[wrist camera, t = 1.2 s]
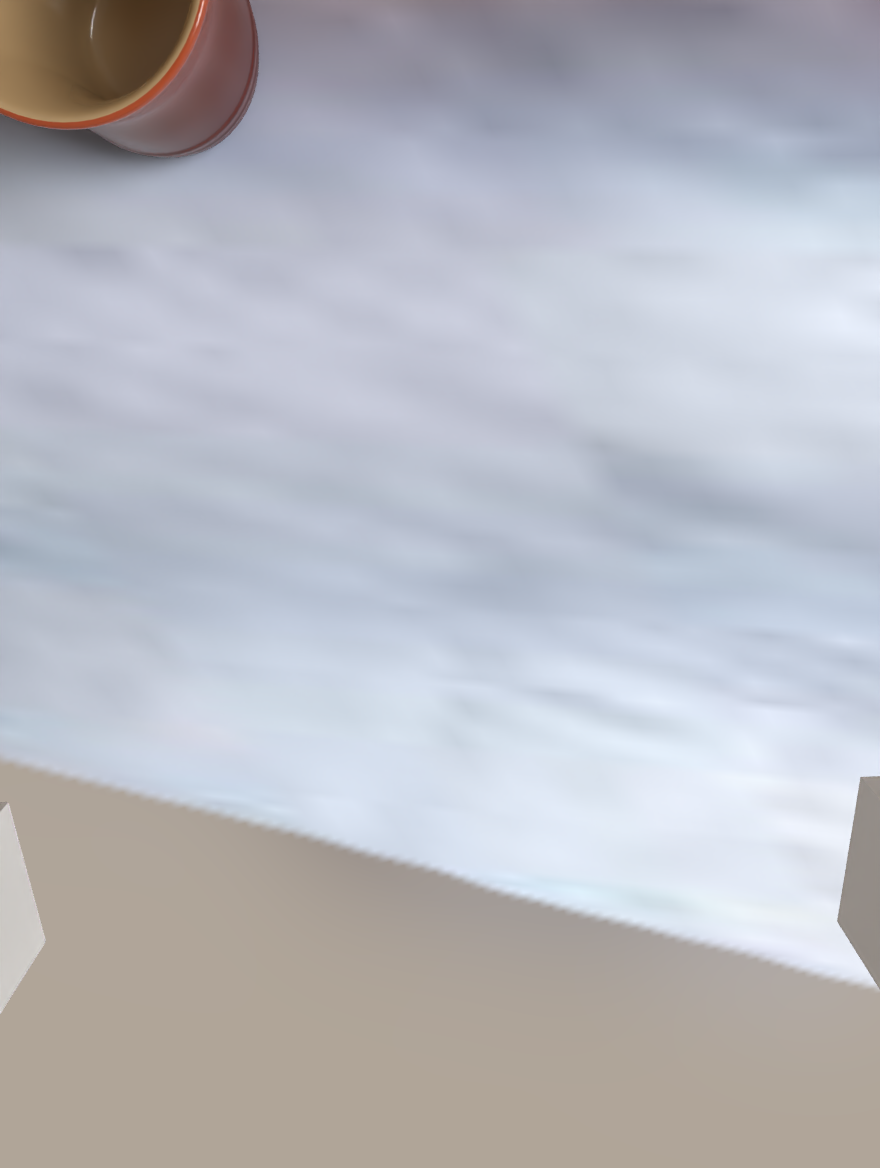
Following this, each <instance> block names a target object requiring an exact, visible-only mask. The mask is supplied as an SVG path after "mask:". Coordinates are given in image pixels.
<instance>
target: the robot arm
mask: <svg viewBox="0 0 880 1168" xmlns="http://www.w3.org/2000/svg"><path fill="white" fill-rule="evenodd" d="M837 922H838V923H839V925H840V927H841V928H842V930H843V931H844V933H845V935H846V936H847V938H848V939H849V941H850V943H851V944H852V946H853V947H854V949H855V951H856V952H857V954H858V955H859V957H860V959H861V960H862V962H863V963H864V965H865V967H866V968H867V970H868V971H869V973H870V975H871V976H872V978H873V979H874V981H875V983H876V984H877V986H878V987H879V989H880V776H877V777H861V778H860V784H859V790H858V796H857V802H856V809H855V815H854V821H853V827H852V833H851V839H850V846H849V852H848V858H847V864H846V870H845V877H844V883H843V889H842V895H841V901H840V908H839V914H838V920H837ZM45 942H46V940H45V936H44V933H43V929H42V925H41V921H40V918H39V914H38V910H37V907H36V903H35V899H34V895H33V892H32V888H31V885H30V880H29V877H28V873H27V870H26V866H25V862H24V858H23V854H22V851H21V847H20V843H19V840H18V836H17V832H16V828H15V825H14V821H13V817H12V813H11V810H10V806H9V803H8V802H1V803H0V1013H1V1012H2V1010H3V1009H4V1007H5V1005H6V1004H7V1002H8V1001H9V999H10V997H11V996H12V994H13V993H14V991H15V990H16V988H17V986H18V985H19V983H20V982H21V980H22V979H23V977H24V975H25V974H26V972H27V970H28V969H29V967H30V966H31V964H32V962H33V961H34V959H35V958H36V956H37V955H38V953H39V952H40V950H41V948H42V947H43V945H44V944H45Z"/></svg>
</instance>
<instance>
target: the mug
mask: <svg viewBox="0 0 880 1168" xmlns="http://www.w3.org/2000/svg"><path fill="white" fill-rule="evenodd" d="M258 67H259V50H258V36H257V29H256V24H255V19H254V16H253V12H252V9H251V5H250V2H249V0H0V114H2V115H4V116H7V117H9V118H12V119H14V120H17V121H19V122H23V123H26V124H30V125H34V126H38V127H44V128H50V129H61V130H77V129H88V130H90V131H92V132H94V133H96V134H97V135H99V136H100V137H102V138H103V139H105V140H107V141H108V142H110V143H112V144H114V145H116V146H117V147H119V148H122V149H124V150H127V151H130V152H133V153H137V154H140V155H146V156H155V157H165V158H171V157H182V156H188V155H193V154H197V153H200V152H203V151H205V150H208V149H210V148H212V147H214V146H215V145H217V144H218V143H220V142H221V141H223V140H224V139H225V138H226V137H227V136H228V135H230V134H231V133H232V131H233V130H234V129H235V128H236V127H237V126H238V124H239V123H240V122H241V120H242V119H243V117H244V115H245V114H246V112H247V110H248V108H249V105H250V103H251V101H252V98H253V95H254V91H255V87H256V83H257V77H258Z"/></svg>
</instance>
